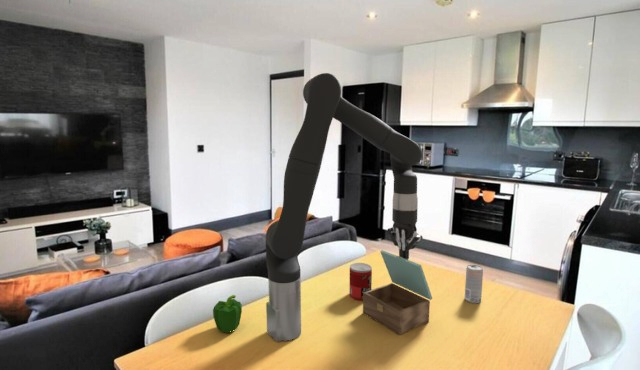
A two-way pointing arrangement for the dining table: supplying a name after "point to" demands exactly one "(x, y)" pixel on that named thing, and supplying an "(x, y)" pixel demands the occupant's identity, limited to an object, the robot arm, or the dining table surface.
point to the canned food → (360, 280)
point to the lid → (406, 274)
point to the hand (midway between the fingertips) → (403, 260)
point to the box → (396, 308)
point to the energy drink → (473, 283)
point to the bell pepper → (227, 314)
